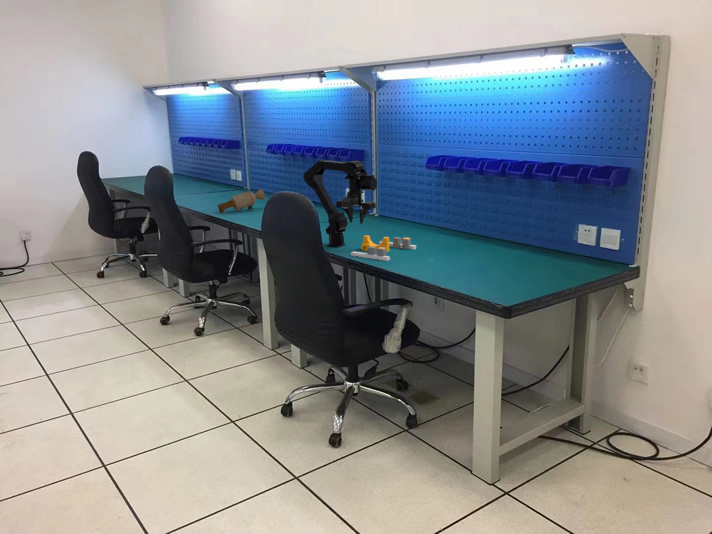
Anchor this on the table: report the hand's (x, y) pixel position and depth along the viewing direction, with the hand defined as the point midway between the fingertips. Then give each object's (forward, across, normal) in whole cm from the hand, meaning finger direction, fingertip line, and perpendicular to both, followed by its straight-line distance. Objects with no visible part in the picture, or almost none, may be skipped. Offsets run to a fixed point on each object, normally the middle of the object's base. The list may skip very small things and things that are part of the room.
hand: (356, 223), depth 269 cm
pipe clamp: (+12, +10, 0) cm, 16 cm away
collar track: (+12, +15, 0) cm, 19 cm away
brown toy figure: (+12, -126, +50) cm, 136 cm away
